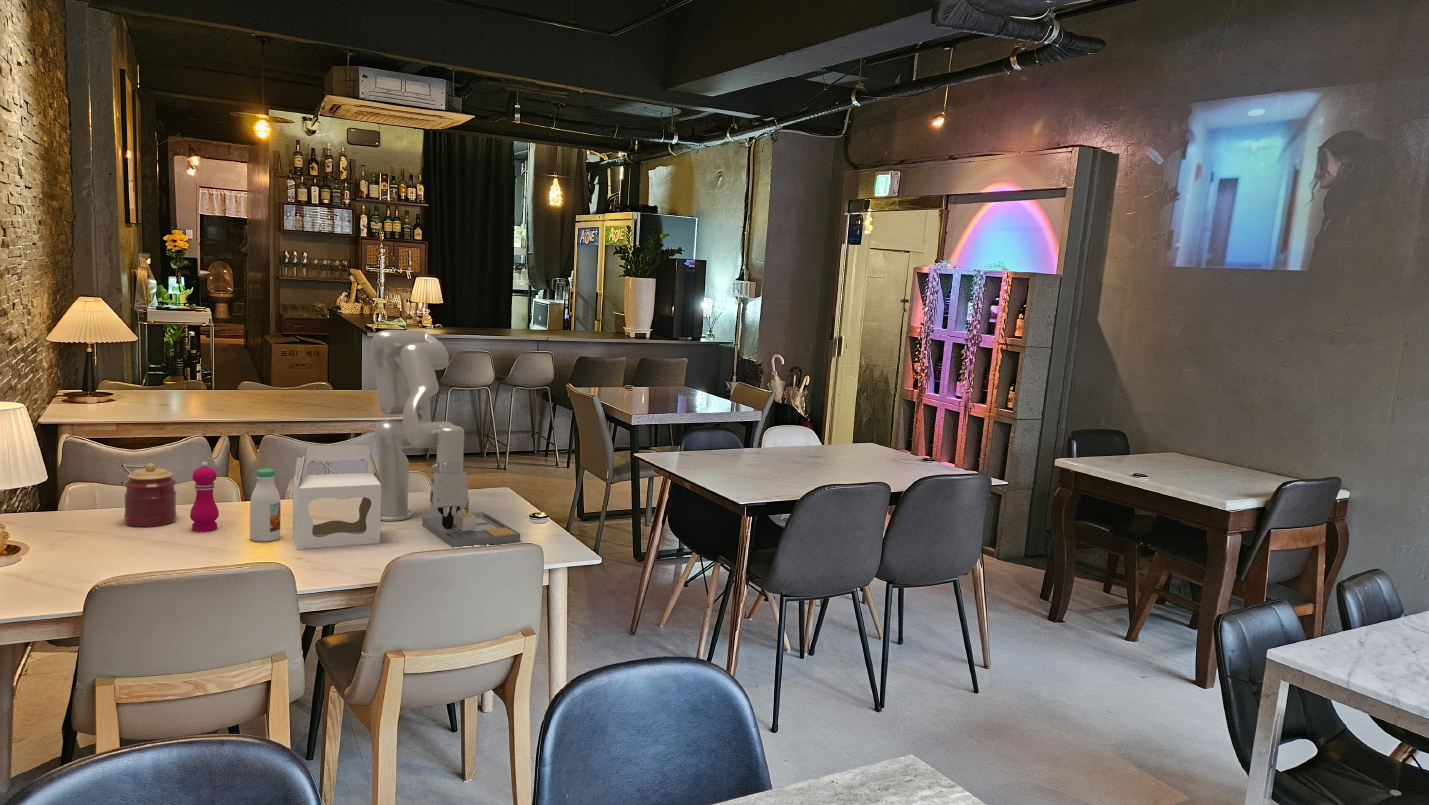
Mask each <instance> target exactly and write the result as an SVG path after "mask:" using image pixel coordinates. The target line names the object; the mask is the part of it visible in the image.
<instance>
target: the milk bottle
mask: <svg viewBox="0 0 1429 805" xmlns="http://www.w3.org/2000/svg"><path fill="white" fill-rule="evenodd" d="M275 472H276V470H275V469H273V468H260V469H257V470H256V478H257V481H256V484H255V487H254V489H253V491H252V493H251V495H250V505H249V506H250V507H249V508H250V509H249V539H250V540H251V541H252V542H259V543H262V542H263V543H264V542H273V541H276V540H279V538H280V537H281V496H280V491H279V489H278V488H277V486H276V484H275V478H276V476H275V475H276V473H275Z"/></svg>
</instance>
